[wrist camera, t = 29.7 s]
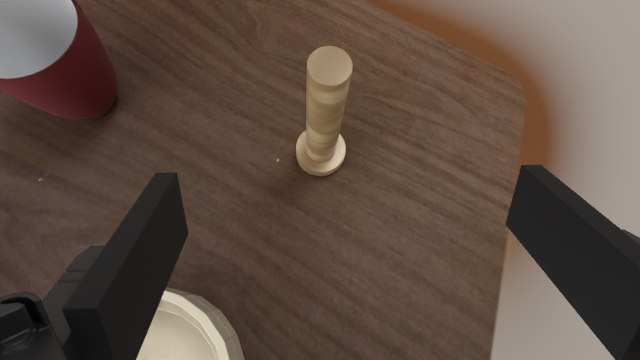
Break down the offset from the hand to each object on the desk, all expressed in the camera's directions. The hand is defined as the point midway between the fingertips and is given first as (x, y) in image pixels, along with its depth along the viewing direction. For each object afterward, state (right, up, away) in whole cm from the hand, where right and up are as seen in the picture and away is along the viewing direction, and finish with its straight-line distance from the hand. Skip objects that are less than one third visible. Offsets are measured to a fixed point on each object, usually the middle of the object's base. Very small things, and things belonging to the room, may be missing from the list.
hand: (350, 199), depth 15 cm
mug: (-22, +9, +22) cm, 32 cm away
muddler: (-1, +3, +20) cm, 21 cm away
